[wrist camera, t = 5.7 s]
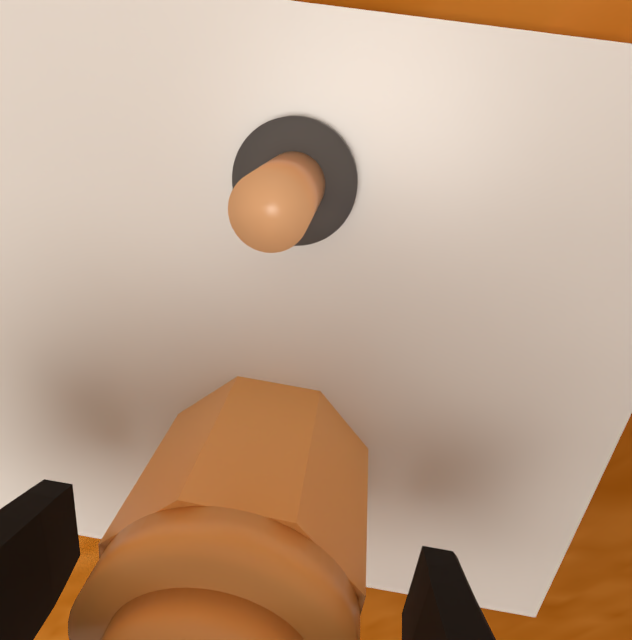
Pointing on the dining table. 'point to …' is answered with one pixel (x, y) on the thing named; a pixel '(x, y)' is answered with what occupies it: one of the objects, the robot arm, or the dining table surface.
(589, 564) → the dining table surface
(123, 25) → the junction plate
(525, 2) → the dining table surface
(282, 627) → the acorn nut
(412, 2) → the dining table surface
